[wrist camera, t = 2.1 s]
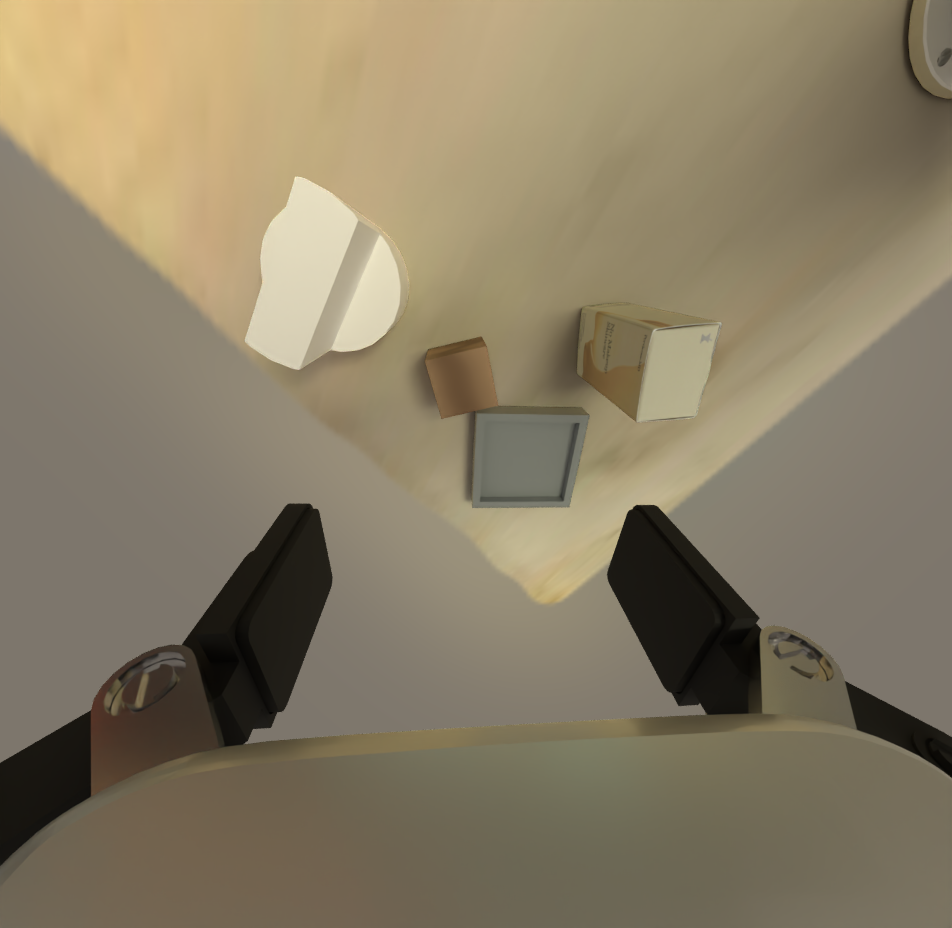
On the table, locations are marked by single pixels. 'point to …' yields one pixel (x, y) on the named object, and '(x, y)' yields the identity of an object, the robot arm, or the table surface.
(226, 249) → the table surface
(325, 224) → the base with upright slab
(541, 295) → the table surface
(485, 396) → the walnut block
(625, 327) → the skincare box
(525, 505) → the slate tray
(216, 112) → the table surface
